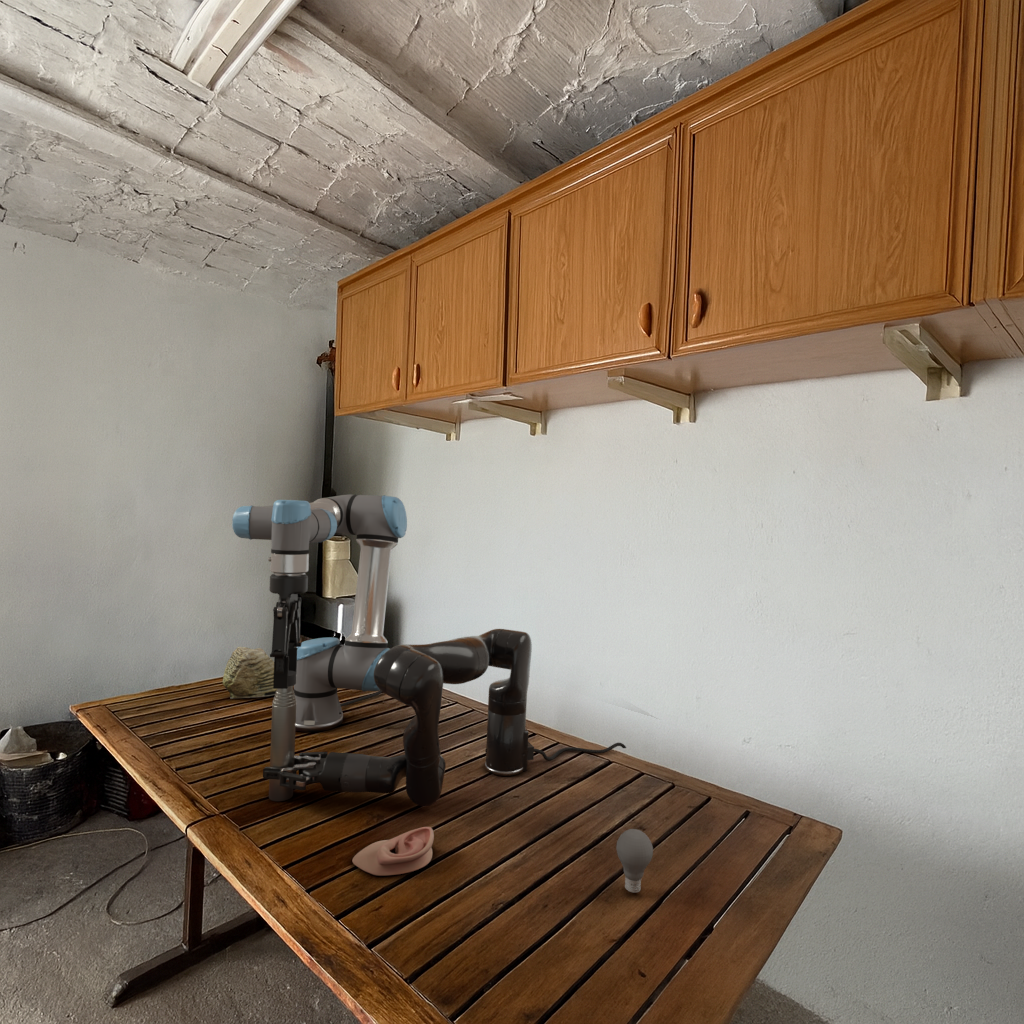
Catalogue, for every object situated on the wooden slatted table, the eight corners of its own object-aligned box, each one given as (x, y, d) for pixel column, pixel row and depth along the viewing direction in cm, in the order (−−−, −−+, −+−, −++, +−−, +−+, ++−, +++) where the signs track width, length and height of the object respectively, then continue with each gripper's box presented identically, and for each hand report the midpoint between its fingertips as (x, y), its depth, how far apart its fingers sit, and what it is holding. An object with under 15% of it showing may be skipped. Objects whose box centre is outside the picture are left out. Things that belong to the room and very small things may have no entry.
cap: (281, 680, 135) (281, 669, 135) (299, 682, 135) (300, 671, 135) (269, 686, 131) (270, 675, 131) (289, 688, 130) (289, 676, 130)
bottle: (263, 798, 132) (268, 677, 132) (280, 789, 136) (284, 672, 136) (281, 803, 130) (286, 680, 130) (297, 793, 135) (302, 675, 134)
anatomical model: (344, 847, 108) (373, 814, 119) (343, 870, 108) (372, 835, 119) (418, 859, 105) (440, 825, 116) (417, 883, 105) (439, 846, 116)
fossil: (218, 695, 195) (220, 647, 195) (278, 685, 208) (279, 640, 207) (228, 703, 189) (230, 653, 188) (289, 692, 201) (290, 645, 201)
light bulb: (610, 879, 108) (613, 822, 108) (644, 879, 109) (647, 822, 109) (619, 902, 102) (622, 840, 102) (655, 901, 103) (658, 840, 103)
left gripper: (282, 567, 142) (278, 670, 142) (256, 579, 122) (252, 697, 123) (317, 568, 143) (313, 670, 143) (296, 580, 123) (292, 697, 124)
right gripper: (359, 741, 139) (284, 736, 140) (338, 769, 125) (254, 763, 126) (358, 775, 140) (282, 770, 141) (336, 806, 125) (252, 800, 126)
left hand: (285, 682), depth 133 cm, fingers open, 7 cm apart
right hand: (269, 767), depth 133 cm, fingers closed on bottle, 5 cm apart
